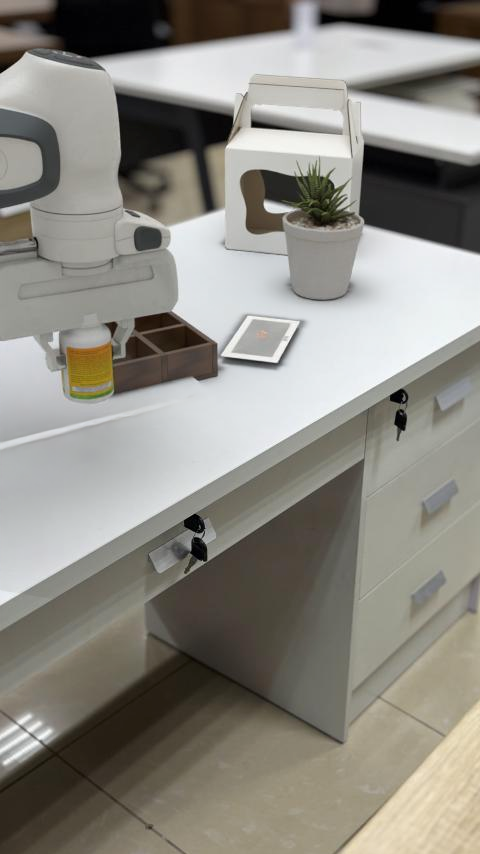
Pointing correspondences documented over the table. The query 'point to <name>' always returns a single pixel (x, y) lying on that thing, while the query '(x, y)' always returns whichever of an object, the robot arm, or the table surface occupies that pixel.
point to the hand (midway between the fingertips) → (87, 362)
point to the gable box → (286, 156)
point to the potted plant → (321, 239)
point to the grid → (163, 353)
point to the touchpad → (261, 339)
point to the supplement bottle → (87, 362)
